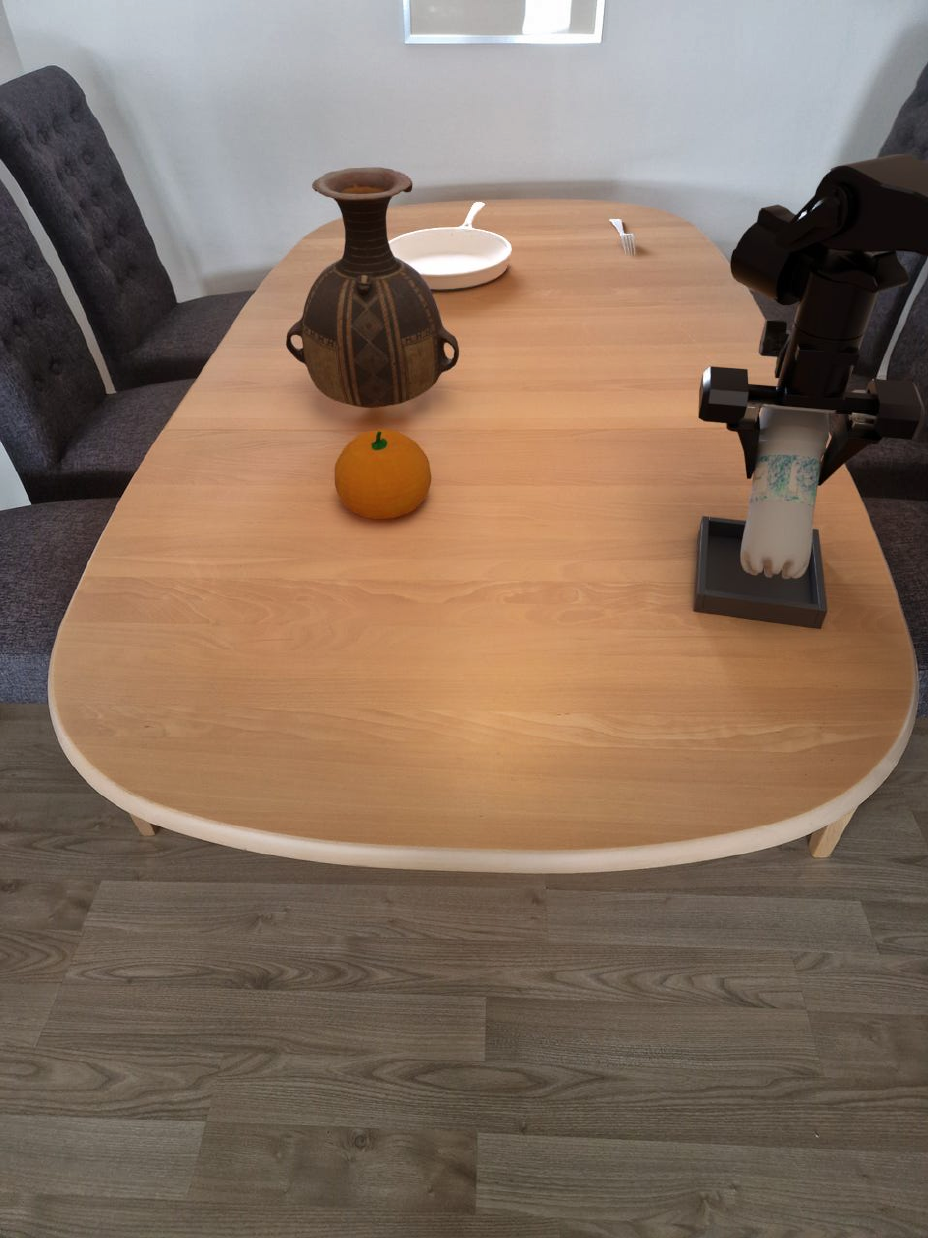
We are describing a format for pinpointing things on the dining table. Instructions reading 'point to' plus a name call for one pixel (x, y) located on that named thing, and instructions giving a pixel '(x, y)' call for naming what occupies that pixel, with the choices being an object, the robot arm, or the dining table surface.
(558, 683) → the dining table surface
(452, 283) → the pan
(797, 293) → the robot arm
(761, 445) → the bottle
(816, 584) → the tray
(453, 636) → the dining table surface
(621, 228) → the fork
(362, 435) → the fruit
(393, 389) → the vase
